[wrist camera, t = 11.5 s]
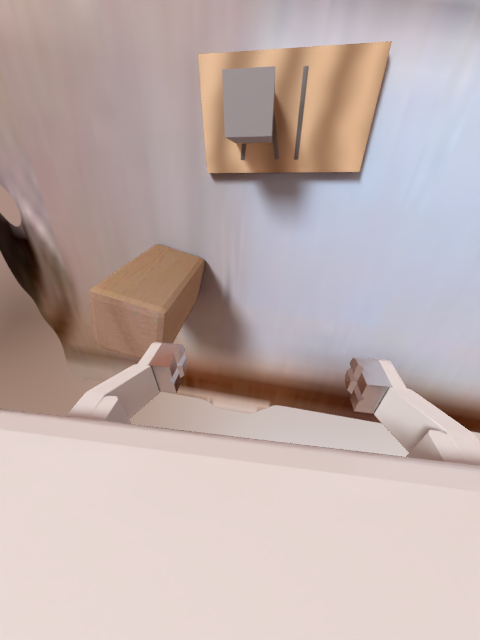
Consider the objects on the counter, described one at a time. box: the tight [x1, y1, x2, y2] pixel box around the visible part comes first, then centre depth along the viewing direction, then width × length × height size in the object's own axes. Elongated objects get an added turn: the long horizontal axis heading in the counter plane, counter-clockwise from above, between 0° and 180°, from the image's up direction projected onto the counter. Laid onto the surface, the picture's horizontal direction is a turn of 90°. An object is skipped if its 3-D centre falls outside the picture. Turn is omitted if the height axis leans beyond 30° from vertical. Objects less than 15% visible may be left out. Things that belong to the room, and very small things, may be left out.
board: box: [198, 41, 392, 173], centre depth 30 cm, size 22×12×2 cm, turn 91°
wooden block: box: [89, 244, 205, 359], centre depth 37 cm, size 10×10×20 cm
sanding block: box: [222, 66, 275, 144], centre depth 26 cm, size 5×5×9 cm
